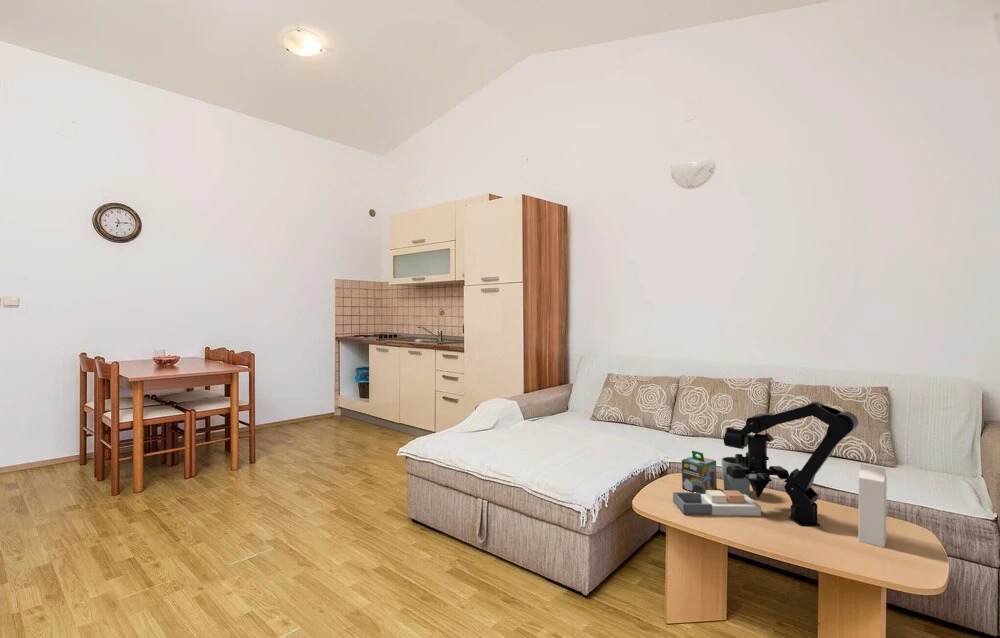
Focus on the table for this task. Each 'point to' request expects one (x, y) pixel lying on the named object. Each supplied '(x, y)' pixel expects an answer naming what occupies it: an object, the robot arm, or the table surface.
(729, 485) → the grey-blue cup
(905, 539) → the table surface
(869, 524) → the milk
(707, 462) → the chalk box
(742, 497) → the tile
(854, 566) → the table surface
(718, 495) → the tile
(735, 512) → the board
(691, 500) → the tray
